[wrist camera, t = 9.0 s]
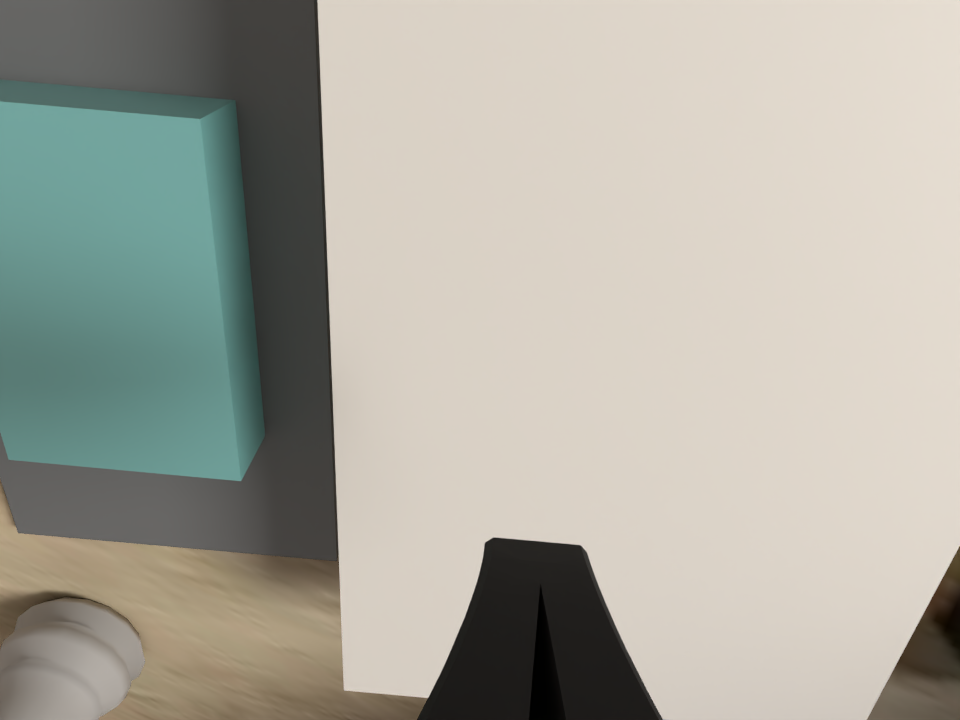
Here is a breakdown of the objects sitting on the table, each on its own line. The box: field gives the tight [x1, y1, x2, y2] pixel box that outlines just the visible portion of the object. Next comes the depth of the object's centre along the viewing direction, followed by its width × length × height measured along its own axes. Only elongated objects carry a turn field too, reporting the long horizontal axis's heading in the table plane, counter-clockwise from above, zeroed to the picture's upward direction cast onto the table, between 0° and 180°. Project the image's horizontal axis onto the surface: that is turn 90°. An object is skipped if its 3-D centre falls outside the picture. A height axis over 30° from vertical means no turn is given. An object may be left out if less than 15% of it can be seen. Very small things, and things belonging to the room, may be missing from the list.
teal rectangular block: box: [0, 80, 265, 481], centre depth 17 cm, size 9×6×2 cm, turn 176°
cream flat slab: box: [317, 0, 960, 720], centre depth 17 cm, size 20×14×4 cm
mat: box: [0, 0, 339, 561], centre depth 18 cm, size 18×10×1 cm, turn 176°
